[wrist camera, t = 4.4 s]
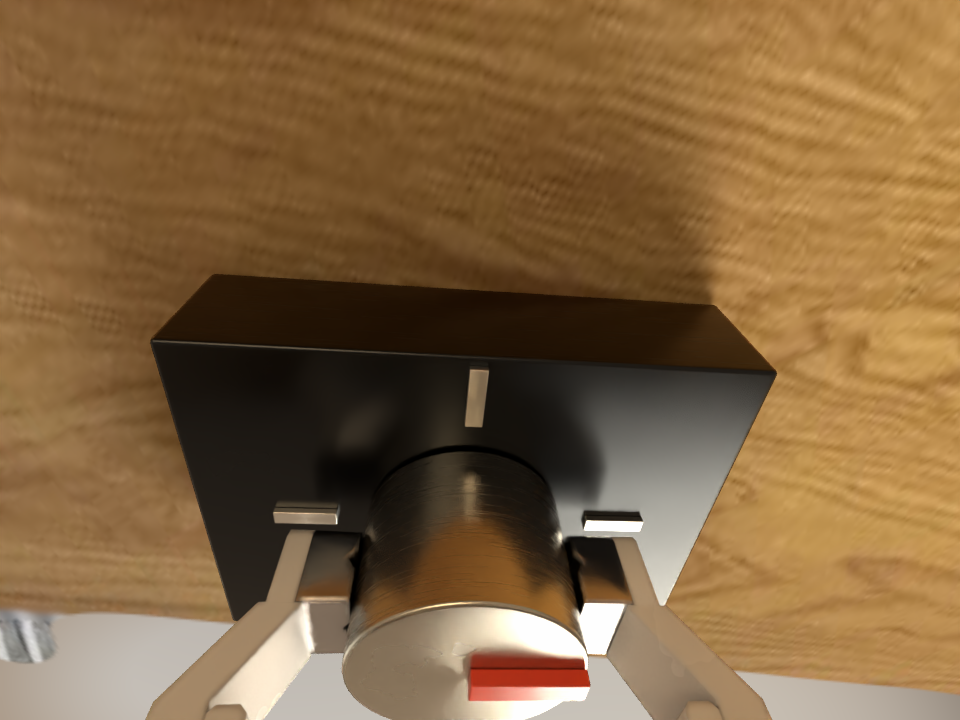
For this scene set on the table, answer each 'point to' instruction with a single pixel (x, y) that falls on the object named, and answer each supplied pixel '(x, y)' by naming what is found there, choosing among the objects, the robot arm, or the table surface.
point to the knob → (464, 596)
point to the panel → (450, 408)
